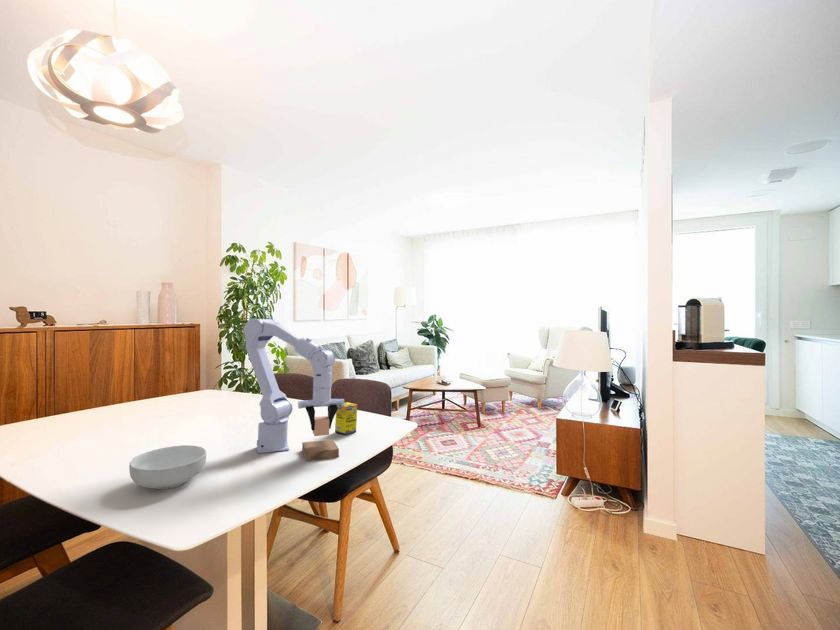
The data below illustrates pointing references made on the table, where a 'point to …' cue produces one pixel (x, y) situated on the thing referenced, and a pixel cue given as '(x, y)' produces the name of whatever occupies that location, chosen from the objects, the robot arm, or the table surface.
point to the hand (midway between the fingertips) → (320, 428)
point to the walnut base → (320, 449)
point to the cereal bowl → (167, 466)
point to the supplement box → (346, 418)
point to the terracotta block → (321, 426)
